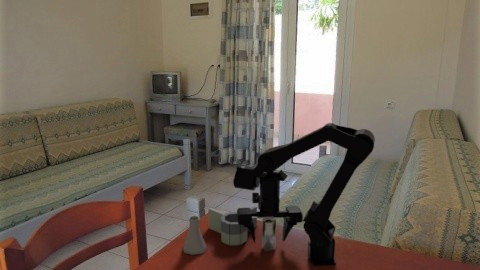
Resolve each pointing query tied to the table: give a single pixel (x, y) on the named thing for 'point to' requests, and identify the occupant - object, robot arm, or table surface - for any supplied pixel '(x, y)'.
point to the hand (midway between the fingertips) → (268, 241)
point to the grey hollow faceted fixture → (234, 223)
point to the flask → (194, 238)
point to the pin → (268, 234)
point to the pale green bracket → (227, 239)
